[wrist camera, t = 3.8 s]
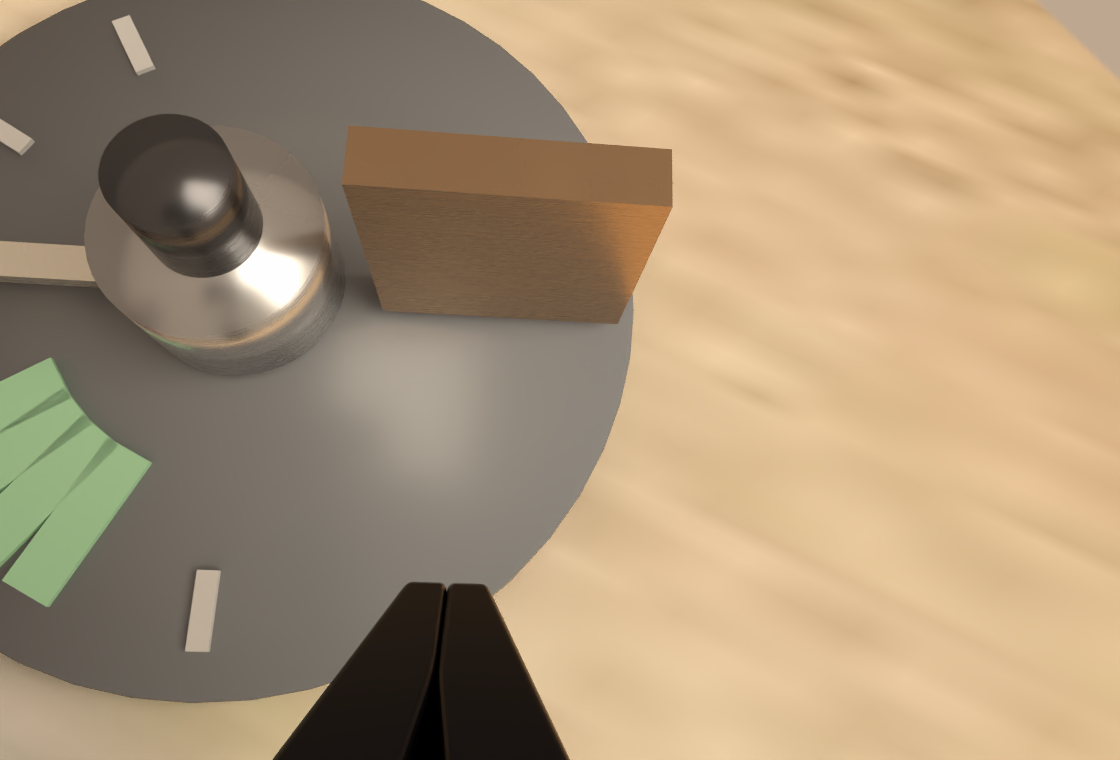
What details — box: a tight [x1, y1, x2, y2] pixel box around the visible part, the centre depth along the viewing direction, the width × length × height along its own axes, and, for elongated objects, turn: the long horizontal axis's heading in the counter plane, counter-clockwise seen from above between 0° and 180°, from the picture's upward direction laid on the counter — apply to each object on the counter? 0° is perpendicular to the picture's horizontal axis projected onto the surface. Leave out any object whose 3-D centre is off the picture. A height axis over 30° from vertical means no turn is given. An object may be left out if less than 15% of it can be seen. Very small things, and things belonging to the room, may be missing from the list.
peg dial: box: [0, 114, 672, 376], centre depth 18 cm, size 20×5×6 cm, turn 88°
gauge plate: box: [0, 0, 633, 703], centre depth 22 cm, size 20×20×1 cm
